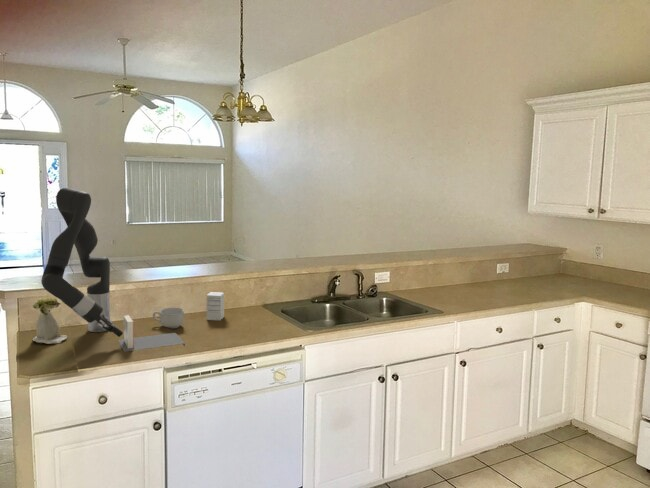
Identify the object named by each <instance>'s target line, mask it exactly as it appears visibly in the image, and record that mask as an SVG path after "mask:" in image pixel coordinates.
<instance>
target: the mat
mask: <svg viewBox="0 0 650 488" xmlns="http://www.w3.org/2000/svg"><path fill="white" fill-rule="evenodd" d="M117 341H118V342H119V345H120V346H121V348H122V351H123V353H125V352H130V351H131V352H132V351H138V350H146V349H147V350H148V349H154V348H161V347H167V346H168V347H169V346H175V345H177V346H178V345H183V346H185V342H184V341H183V339H182V338H181V337H180V336H179V335H178V334H177V333H176V332H171V333H170V332H169V333H163V334H154V335H146V336H138V337H137V336H136V337H134V347H133V348H127V346H126V344H125V342H124V338H122V339H118V340H117Z"/></svg>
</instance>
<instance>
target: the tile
mask: <svg viewBox="0 0 650 488" xmlns="http://www.w3.org/2000/svg"><path fill="white" fill-rule="evenodd" d="M134 338H135V321H134V320H133V318H132V317H131V315H129V314H127V315H123V339H124V342H125V344H126V346H127V348H133V347H134Z"/></svg>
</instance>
